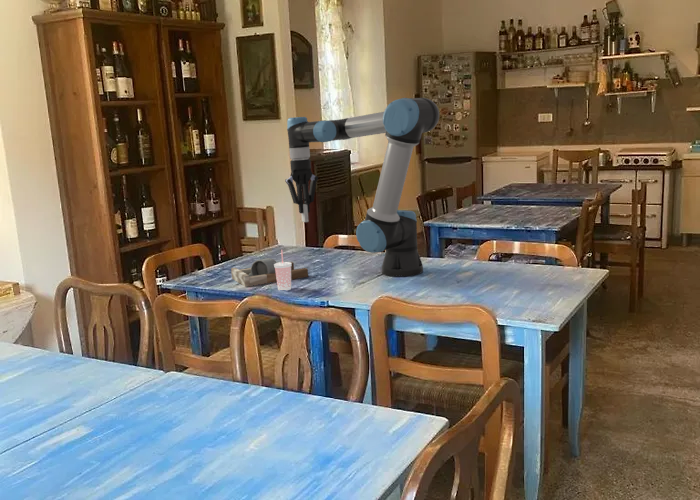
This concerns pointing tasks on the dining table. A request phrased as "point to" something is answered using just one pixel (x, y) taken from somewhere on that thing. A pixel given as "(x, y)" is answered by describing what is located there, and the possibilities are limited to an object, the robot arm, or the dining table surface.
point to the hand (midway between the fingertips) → (305, 221)
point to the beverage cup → (283, 274)
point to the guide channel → (263, 276)
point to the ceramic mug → (263, 267)
